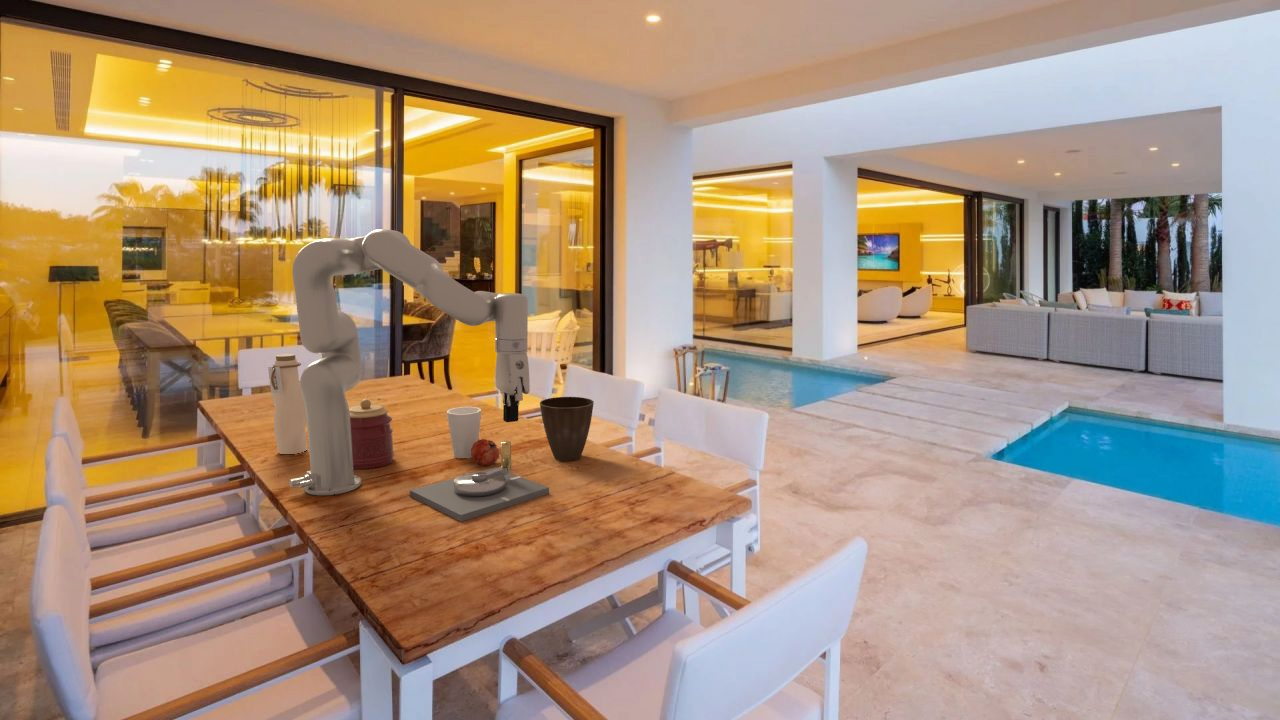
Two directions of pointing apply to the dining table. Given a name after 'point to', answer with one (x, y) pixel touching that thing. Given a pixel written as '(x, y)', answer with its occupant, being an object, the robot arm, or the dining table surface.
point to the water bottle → (288, 405)
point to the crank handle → (485, 477)
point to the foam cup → (463, 429)
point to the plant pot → (567, 425)
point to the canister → (371, 435)
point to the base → (471, 507)
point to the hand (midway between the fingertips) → (510, 420)
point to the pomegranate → (484, 452)
